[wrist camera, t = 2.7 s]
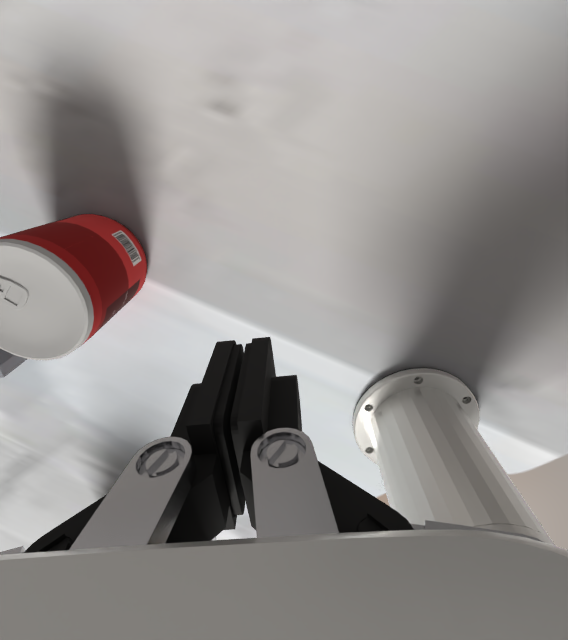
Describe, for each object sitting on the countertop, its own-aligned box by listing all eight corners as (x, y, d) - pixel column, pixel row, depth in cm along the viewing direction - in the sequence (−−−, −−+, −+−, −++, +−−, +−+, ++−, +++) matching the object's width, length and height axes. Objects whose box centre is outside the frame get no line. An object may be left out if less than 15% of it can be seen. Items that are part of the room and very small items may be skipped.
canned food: (65, 196, 30) (-46, 219, 20) (160, 235, 31) (100, 273, 21) (51, 280, 33) (-51, 335, 23) (139, 311, 34) (77, 377, 24)
